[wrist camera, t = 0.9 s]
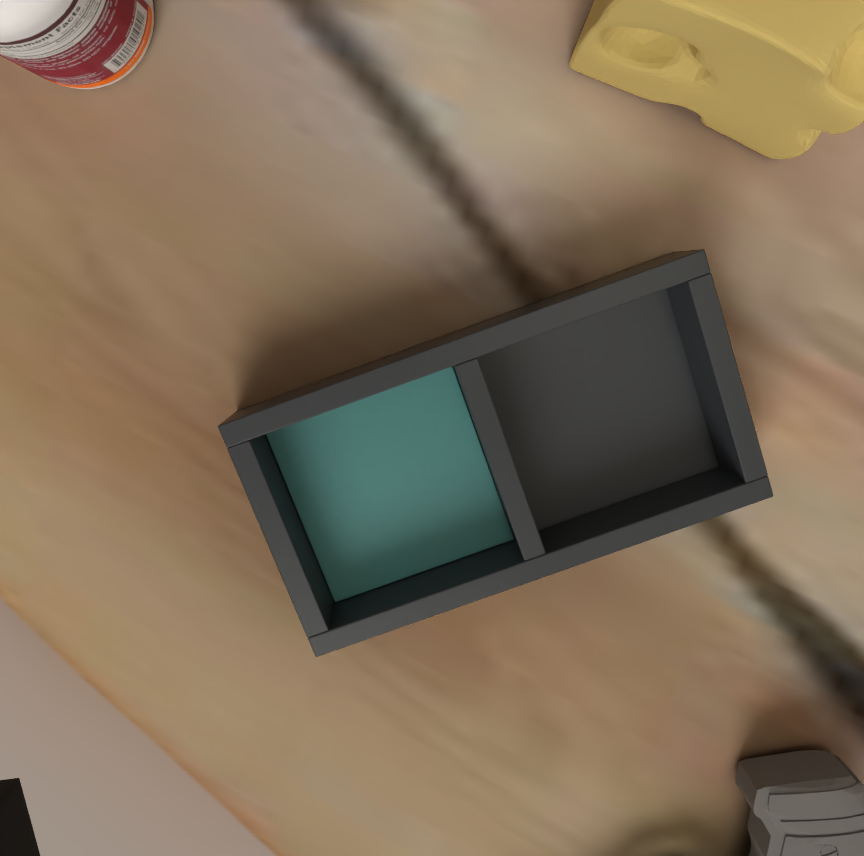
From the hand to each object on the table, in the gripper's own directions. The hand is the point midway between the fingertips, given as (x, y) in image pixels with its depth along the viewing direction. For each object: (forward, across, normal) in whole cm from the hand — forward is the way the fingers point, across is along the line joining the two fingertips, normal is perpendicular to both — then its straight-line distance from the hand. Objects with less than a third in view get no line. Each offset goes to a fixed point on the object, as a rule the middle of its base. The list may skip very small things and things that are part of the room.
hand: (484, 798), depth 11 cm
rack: (+25, +3, -1) cm, 25 cm away
